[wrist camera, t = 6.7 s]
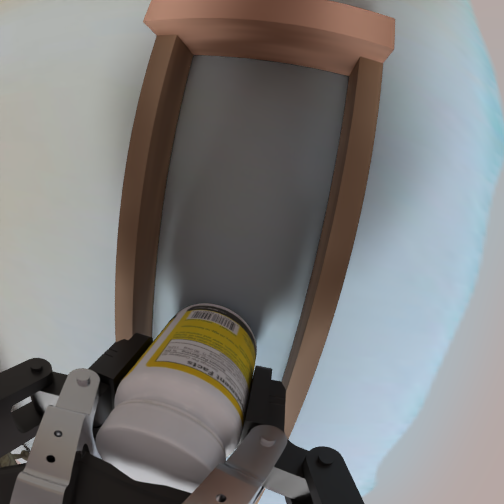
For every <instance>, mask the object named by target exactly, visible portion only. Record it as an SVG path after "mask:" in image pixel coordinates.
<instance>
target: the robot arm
mask: <svg viewBox="0 0 504 504" xmlns="http://www.w3.org/2000/svg"><path fill="white" fill-rule="evenodd" d="M152 343H153V339H152V337H149V336H146V335H143V334H140V333H135V334H134V335H133V336H132V337H131V338H130V339H129V340H126V339H123V340H120V341H118V342H115V343H114V344H113V345H112V346H111V347H110V348H109V350H107V351H106V352H105V353H104V354H103V355H102V356H101V357H100V358H99V359H98V360H97V361H96V362H95V363H94V364H93V365H91V366H90V367H89V368H88V369H84V368H81V369H76V370H73V371H71V372H70V373H69V374H68V375H65V374H61V373H56V372H52V367H51V364H50V363H49V362H48V361H47V360H45V359H41V358H33V359H29V360H27V361H25V362H23V363H21V364H18V365H16V366H14V367H12V368H10V369H8V370H5V371H3V372H1V373H0V458H1V457H2V456H4V455H6V454H7V453H9V452H11V451H12V450H14V449H16V448H17V447H19V446H21V445H22V444H24V443H25V442H27V441H29V440H30V439H32V438H33V437H35V436H36V437H35V439H34V442H33V445H32V448H31V451H30V454H29V457H28V460H27V463H23V464H18V465H12V466H6V467H0V504H254V503H255V502H256V500H257V499H258V497H259V496H260V494H261V493H262V491H263V490H264V488H267V489H269V490H271V491H274V492H276V493H279V494H281V495H284V496H285V499H286V503H287V504H364V502H363V500H362V498H361V495H360V493H359V491H358V489H357V487H356V485H355V483H354V481H353V479H352V476H351V474H350V472H349V470H348V468H347V466H346V464H345V462H344V459H343V457H342V456H341V454H340V453H339V452H337V451H336V450H334V449H332V448H329V447H323V446H322V447H315V448H313V449H311V450H310V451H308V450H305V449H302V448H300V447H297V446H295V445H294V444H292V443H291V442H290V441H289V440H288V439H287V436H286V435H285V432H284V426H285V402H286V400H285V399H286V389H285V387H284V385H283V384H282V382H280V381H275V380H271V376H272V369H271V368H266V367H261V366H256V367H255V371H254V375H253V378H252V383H251V389H250V394H249V399H248V404H247V409H246V415H245V420H244V425H243V430H242V434H241V438H240V442H239V444H238V446H237V449H236V450H235V451H234V452H233V454H232V455H231V456H230V457H229V458H228V460H227V461H226V462H225V463H223V462H221V463H219V464H218V465H217V466H216V467H215V468H214V469H213V471H212V472H211V473H210V474H209V475H208V476H207V477H206V478H205V480H204V481H203V482H202V483H201V484H200V485H199V486H198V487H197V488H196V489H195V491H194V492H193V493H189V492H186V491H182V490H179V489H176V488H173V487H170V486H166V485H159V484H152V483H146V482H140V481H136V480H133V479H132V478H130V477H129V476H127V475H126V474H124V473H123V472H122V471H120V470H119V469H117V468H116V467H115V466H113V465H112V464H110V463H108V462H106V461H104V460H102V459H101V457H100V455H99V453H98V451H97V448H96V440H95V439H96V435H97V433H98V431H99V429H100V428H101V426H102V425H103V423H104V422H105V421H106V419H107V418H108V416H109V415H110V413H111V412H112V410H113V409H114V408H115V407H114V400H115V394H116V391H117V388H118V386H119V384H120V382H121V381H122V379H123V378H124V377H125V376H126V375H127V373H128V372H129V371H130V370H131V369H132V367H133V366H134V365H135V364H136V363H137V361H138V360H139V359H140V358H141V356H142V355H143V354H144V353H145V351H146V350H147V349H148V348H149V346H150V345H151V344H152ZM29 396H30V397H31V400H32V402H30V403H28V404H26V405H24V406H23V407H21V408H19V409H17V410H15V411H13V412H12V413H11V408H12V406H13V405H14V404H16V403H18V402H20V401H22V400H24V399H25V398H27V397H29Z"/></svg>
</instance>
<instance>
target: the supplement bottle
mask: <svg viewBox="0 0 504 504" xmlns="http://www.w3.org/2000/svg"><path fill="white" fill-rule="evenodd" d="M256 352H257V346H256V340H255V337H254V334H253V332H252V330H251V329H250V327H249V326H248V324H247V323H246V322H245V321H244V320H243V319H242V318H241V317H240V316H239V315H238V314H236V313H235V312H233V311H231V310H230V309H228V308H225V307H223V306H220V305H216V304H209V303H203V304H195V305H191V306H189V307H186V308H184V309H183V310H181V311H180V312H178V313H177V314H176V315H175V316H174V317H173V318H172V319H171V320H170V321H169V323H168V324H167V325H166V326H165V328H164V329H163V330H162V331H161V333H160V334H159V335H158V336H157V338H156V339H155V340H154V341H153V343H152V344H151V345H150V346H149V348H148V349H147V350H146V351H145V353H144V354H143V355H142V356H141V358H140V359H139V360H138V361H137V363H136V364H135V365H134V366H133V367H132V369H131V370H130V371H129V372H128V373H127V375H126V376H125V377H124V378H123V379H122V381H121V382H120V384H119V386H118V388H117V391H116V394H115V400H114V407H115V408H114V409H113V410H112V412H111V413H110V415H109V416H108V418H107V419H106V421H105V422H104V423H103V425H102V426H101V428H100V429H99V431H98V433H97V435H96V439H95V440H96V448H97V451H98V453H99V455H100V457H101V458H102V460H104V461H106V462H108V463H110V464H112V465H113V466H115V467H116V468H117V469H119V470H120V471H122V472H123V473H124V474H126V475H127V476H129V477H130V478H132V479H133V480H136V481H140V482H146V483H152V484H159V485H166V486H170V487H173V488H176V489H179V490H182V491H186V492H189V493H193V492H194V491H195V489H196V488H197V487H198V486H199V485H200V484H201V483H202V482H203V481H204V480H205V478H206V477H207V476H208V475H209V474H210V473H211V472H212V471H213V469H214V468H215V467H216V466H217V465H218V464H219V463H221V462H223V463H225V462H226V457H228V456H229V455H230V454H231V453H232V452H233V451H234V450H235V449H236V447H237V446H238V444H239V442H240V438H241V434H242V430H243V425H244V420H245V415H246V409H247V404H248V399H249V394H250V389H251V383H252V377H253V372H254V366H255V359H256Z"/></svg>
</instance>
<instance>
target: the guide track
mask: <svg viewBox="0 0 504 504" xmlns="http://www.w3.org/2000/svg"><path fill="white" fill-rule="evenodd" d="M143 22H144V23H145V24H146V25H147V26H148V27H149V28H150V29H151V30H152V31H153V32H154V33H155V34H156V35H157V37H156V40H155V43H154V46H153V50H152V53H151V56H150V60H149V63H148V67H147V70H146V74H145V77H144V81H143V85H142V89H141V93H140V97H139V101H138V106H137V110H136V114H135V119H134V124H133V129H132V134H131V139H130V145H129V150H128V156H127V162H126V168H125V175H124V182H123V190H122V198H121V207H120V216H119V227H118V239H117V255H116V277H115V335H116V342H118V341H120V340H123V339H126V340H129V339H130V338H131V337H132V336H133V335H134V334H135V333H140V334H143V335H146V336H149V337H152V316H153V299H154V284H155V272H156V261H157V251H158V241H159V233H160V224H161V216H162V209H163V201H164V195H165V188H166V181H167V175H168V169H169V163H170V158H171V152H172V147H173V141H174V136H175V131H176V126H177V121H178V117H179V112H180V107H181V103H182V98H183V94H184V90H185V86H186V82H187V78H188V74H189V70H190V66H191V62H192V58H193V55H208V56H227V57H239V58H250V59H259V60H267V61H275V62H281V63H288V64H294V65H300V66H305V67H310V68H315V69H320V70H325V71H329V72H333V73H338V74H342V75H346V76H349V80H348V88H347V95H346V102H345V109H344V115H343V122H342V128H341V134H340V140H339V146H338V152H337V157H336V163H335V168H334V174H333V179H332V184H331V189H330V194H329V199H328V204H327V209H326V213H325V218H324V223H323V227H322V232H321V236H320V241H319V245H318V249H317V254H316V258H315V262H314V266H313V270H312V274H311V278H310V282H309V286H308V290H307V294H306V298H305V302H304V306H303V309H302V313H301V317H300V320H299V324H298V328H297V331H296V335H295V338H294V342H293V345H292V349H291V352H290V356H289V359H288V362H287V366H286V369H285V372H284V376H283V379H282V384H283V385H284V387H285V389H286V399H285V400H286V402H285V426H284V432H285V435H286V436H287V439H289V436H290V434H291V432H292V429H293V427H294V425H295V422H296V420H297V417H298V415H299V412H300V410H301V407H302V405H303V402H304V400H305V397H306V395H307V392H308V389H309V387H310V384H311V381H312V379H313V376H314V373H315V371H316V368H317V365H318V362H319V359H320V356H321V353H322V351H323V348H324V345H325V342H326V339H327V336H328V332H329V329H330V326H331V323H332V320H333V317H334V313H335V310H336V307H337V303H338V300H339V297H340V293H341V290H342V286H343V282H344V279H345V275H346V271H347V268H348V264H349V260H350V256H351V252H352V248H353V244H354V240H355V236H356V232H357V227H358V223H359V218H360V214H361V209H362V205H363V200H364V195H365V190H366V185H367V179H368V174H369V169H370V163H371V157H372V151H373V145H374V138H375V131H376V124H377V117H378V109H379V101H380V92H381V82H382V71H383V63H384V62H385V60H386V59H387V58H388V56H389V55H390V54H391V53H392V51H393V50H394V40H395V19H394V18H391V17H388V16H385V15H382V14H379V13H375V12H372V11H369V10H365V9H362V8H358V7H354V6H350V5H346V4H342V3H338V2H333V1H328V0H151V3H150V5H149V8H148V10H147V13H146V15H145V18H144V21H143ZM264 490H265V488H264ZM264 490H263V491H262V493H261V494H260V496H259V497H258V499H257V500H256V502H255V503H254V504H257V503H258V502H259V500H260V498H261V496H262V494H263V492H264Z"/></svg>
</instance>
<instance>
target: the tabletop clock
mask: <svg viewBox="0 0 504 504" xmlns="http://www.w3.org/2000/svg"><path fill="white" fill-rule="evenodd" d="M29 454H30V453H29V452H28V451H26V450H23V451H22V452H21V454H11V452H9V453H7V454H6V455H4V456H2V457H1V458H0V467H6V466H12V465H17V463H16V461H15V459H19V458H23V459H24V460H26V461H27V460H28V457H29Z"/></svg>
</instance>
